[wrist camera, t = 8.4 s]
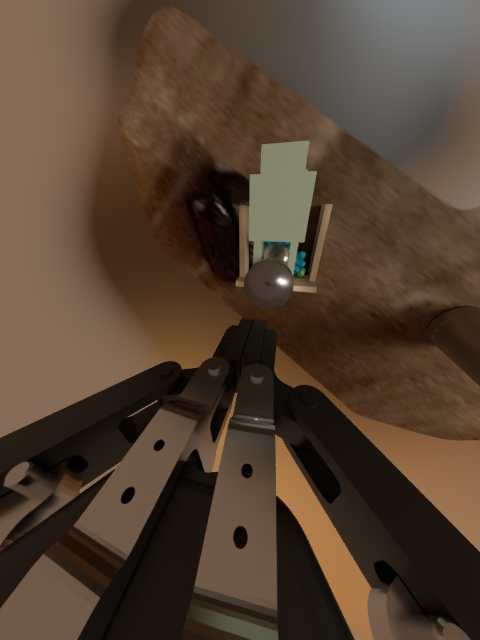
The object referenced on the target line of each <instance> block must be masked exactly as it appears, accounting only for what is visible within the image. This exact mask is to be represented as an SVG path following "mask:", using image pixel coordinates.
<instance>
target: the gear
mask: <svg viewBox="0 0 480 640" xmlns="http://www.w3.org/2000/svg"><path fill="white" fill-rule="evenodd" d="M277 243H278V244H282V245H284V246H286V247H287V248H288V250H289V247H290V242H270V241H267V243H266V242H264V250H265V249H266V248H267V247H268V246H270V245H272V244H277ZM298 246H299V245H298ZM306 256H307V253H305V252H303V251H299V252H297V255H296V261H295V268H294V274H298V276H300V277H303V275H304V273H305V272H306V269H305V268H303V267H304V265H305V262H304V259H305V258H306Z"/></svg>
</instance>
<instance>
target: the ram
mask: <svg viewBox="0 0 480 640" xmlns="http://www.w3.org/2000/svg"><path fill="white" fill-rule="evenodd" d="M288 254H289V250H288V248H287V247H286V246H284V245H282V244H278V243H277V244H272V245H270V246H268V247H267V248H266V249H265V250H264V258H263V259H262V260H260V261H258V262H256V263H255V264H254V265H253V266H252V267H251V268H250V270H249V271H248V272H247V274H246V276H245V279H244V291H245V294H246V296H247V298H248V299H249V300H250V301H251V302H252V303H253V304H254V305H256V306H258V307H261V308H265V309H272V308H277V307H279V306H281V305H283V304H284V303H286V302H287V301H288V299H289V298H290V296H291V294H292V292H293V275H292V272H291V270H290V269H289V267H288V266H287V261H288Z"/></svg>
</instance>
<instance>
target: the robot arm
mask: <svg viewBox="0 0 480 640" xmlns="http://www.w3.org/2000/svg"><path fill="white" fill-rule="evenodd" d="M426 333H427V337H428V339H429V340H430V341H431V342H433V343H434V344H435V345H436V346H437V347H438V348H439V349H440V350H441V351H442V352H443V353H444V354H445V355H446V356H447V357H449V358H450V359H451V360H452V361H453V362H454V363H455V364H456V365H457V366H458V367H459V368H460V369H462V370H463V371H464V372H465V373H466V374H467V375H468V376H469V377H470V378H471V379H472V380H473V381H475V382H476V383H477V384H478V385H479V386H480V308H478V307H461V308H456V309H452V310H449V311H447V312H445V313H443V314H441V315H439V316H438V317H436V318H435V319H434V320H433V321H432V322H431V323H430V324H429V326H428V328H427V332H426ZM276 342H277V335H276V333H275V331H274V330H270V329H266V321H264V320H255V319H254V320H253V319H245V318H241V321H240V323H239V325H238V326H235V325H232V326H231V327H229V328H228V329H227V330H226V332H225V334H224V336H223V338H222V340H221V341H220V343H219V345H218V347H217V349H216V351H215V353H214V355H213V357H212V358H209V359H207V360H205V361H204V362H203V363H202V364H201V365H200V367H198V368H192V369H181V366H180V364H178V363H177V362H173V361H168V362H163V363H161V364H159V365H156V366H154V367H152V368H150V369H148V370H146V371H144V372H141V373H139V374H137V375H135V376H133V377H131V378H128V379H126V380H124V381H122V382H120V383H118V384H115V385H113V386H111V387H109V388H107V389H105V390H103V391H100V392H98V393H96V394H94V395H92V396H90V397H87V398H85V399H83V400H81V401H79V402H77V403H75V404H73V405H70V406H68V407H66V408H64V409H62V410H59V411H57V412H55V413H53V414H51V415H49V416H47V417H44V418H43V419H40V420H38V421H36V422H34V423H31V424H30V425H27V426H25V427H23V428H21V429H19V430H17V431H14V432H12V433H10V434H8V435H6V436H3V437H1V438H0V640H354V637H353V635H352V633H351V631H350V629H349V627H348V625H347V622H346V620H345V618H344V616H343V614H342V612H341V610H340V607H339V606H338V603H337V601H336V599H335V597H334V595H333V593H332V591H331V588H330V586H329V584H328V582H327V580H326V578H325V576H324V573H323V571H322V569H321V567H320V565H319V563H318V560H317V558H316V556H315V554H314V552H313V550H312V548H311V545H310V544H309V541H308V539H307V537H306V535H305V533H304V531H303V530H302V527H301V526H300V524H299V522H298V521H297V519H296V518H295V516H294V515H293V513H292V512H291V511H290V509H289V508H288V507H287V506H286V505H285V503H284V502H283V501H282V500H281V499H279V497H277V496H276V465H275V464H276V458H275V457H276V456H275V434H276V435H277V436H279V437H281V438H282V439H283V441H284V443H285V445H286V447H287V449H288V450H289V452H290V454H291V455H292V457H293V459H294V460H295V462H296V464H297V465H298V467H299V468H300V470H301V472H302V474H303V475H304V477H305V478H306V480H307V482H308V484H309V485H310V487H311V488H312V490H313V492H314V493H315V495H316V496H317V498H318V500H319V502H320V503H321V505H322V507H323V508H324V510H325V512H326V513H327V515H328V517H329V518H330V520H331V522H332V523H333V525H334V527H335V528H336V530H337V532H338V533H339V535H340V537H341V538H342V540H343V542H344V543H345V545H346V547H347V548H348V550H349V552H350V553H351V555H352V556H353V558H354V560H355V562H356V563H357V565H358V567H359V568H360V570H361V571H362V573H363V575H364V576H365V578H366V580H367V582H368V583H369V585H370V587H371V590H370V593H369V597H368V616H369V622H370V627H371V631H372V634H373V638H374V640H480V552H479V551H478V550H477V549H476V548H475V547H474V546H473V545H472V544H471V543H470V542H469V541H468V540H467V539H466V538H465V537H464V536H463V535H462V534H461V533H460V532H459V531H458V530H457V528H455V526H453V524H451V522H449V521H448V519H447V518H446V517H445V516H444V515H443V514H442V513H441V512H440V511H439V510H438V509H437V508H436V507H435V506H434V505H433V504H432V503H431V502H430V501H429V500H428V499H427V498H426V497H425V496H424V495H423V494H422V493H421V492H420V491H419V490H418V489H417V488H416V487H415V486H414V485H413V484H412V483H411V482H410V481H409V480H408V479H407V478H406V477H405V476H404V475H403V474H402V473H401V472H400V471H399V470H398V469H397V468H396V467H395V466H394V465H393V464H392V463H391V462H390V461H389V460H388V459H387V458H386V457H385V455H383V453H382V452H381V451H379V449H378V448H377V447H376V446H375V445H374V444H373V443H372V442H371V441H370V440H369V439H368V438H367V437H366V436H365V435H363V433H362V432H361V431H360V430H359V429H358V428H357V427H356V426H355V425H354V424H353V423H352V422H351V421H350V420H349V419H348V418H347V417H346V416H345V415H344V414H343V413H342V412H341V411H340V410H339V409H338V408H337V407H336V406H335V405H334V404H333V403H332V402H331V401H330V400H329V399H328V398H327V397H326V396H325V395H324V394H323V393H322V392H321V391H320V390H318V389H317V388H315V387H312V386H308V385H299V386H297V387H295V388H293V387H290V386H288V385H286V384H285V383H283V382H281V381H280V380H279V379H278V378H277V376H276V375H275V372H274V363H275V353H276ZM235 393H237V397H236V402H235V407H234V413H233V416H232V417H231V418H230V420H229V424H228V428H227V433H226V438H225V442H224V447H223V452H222V457H221V462H220V466H219V471H218V472H211V471H212V468H213V464H214V461H215V456H216V450H217V446H218V443H219V440H220V437H221V435H222V432H223V429H224V427H225V424H226V421H227V419H228V416H229V413H230V411H231V408H232V401H233V397H234V394H235ZM156 400H157V401H158V402H156V403H154V404H152V405H151V406H149V407H147V408H145V409H144V410H142V411H140V412H139V413H137V414H135V415H133V416H131V417H128V416H130V415H131V414H133V413H135V412H137V411H138V410H140V409H142V408H144V407H145V406H147V405H149V404H151V403H152V402H154V401H156ZM119 462H120V464H119V465H118V466H117V468H116V469H114V470H113V471H111V472H110V473H109V474H107V475H106V476H104V477H103V478H102V479H101V480H99V481H97V482H96V483H95V484H93V485H92V486H91V487H89V488H88V489H86V490H85V491H84V492H82V493H81V494H80V492H79V490H80V489H81V488H82V487H83V486H85V485H86V484H88V483H89V482H91V481H92V480H94V479H95V478H97V477H98V476H100V475H101V474H103V473H104V472H106V471H107V470H109V469H110V468H112V467H113V466H115V465H116V464H118V463H119Z"/></svg>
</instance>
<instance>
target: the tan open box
mask: <svg viewBox="0 0 480 640" xmlns="http://www.w3.org/2000/svg"><path fill="white" fill-rule="evenodd" d="M332 205H333V204H325V205H321V210H320V215H319V220H318V225H317V230H316V235H315V240H314V245H313V250H312V255H311V260H310V265H309V270H308V275H303V277H300V276H298V274H293V291H300V292H312V293H316V289H317V286H316V283H315V279H316V275H317V270H318V266H319V261H320V257H321V253H322V248H323V244H324V240H325V235H326V231H327V227H328V222H329V218H330V213H331V209H332ZM239 236H240V277H239V278H238V279H237V280H236V286H240V287H244V279H245V276H246V274H247V272H248V269H249V206H239Z"/></svg>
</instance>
